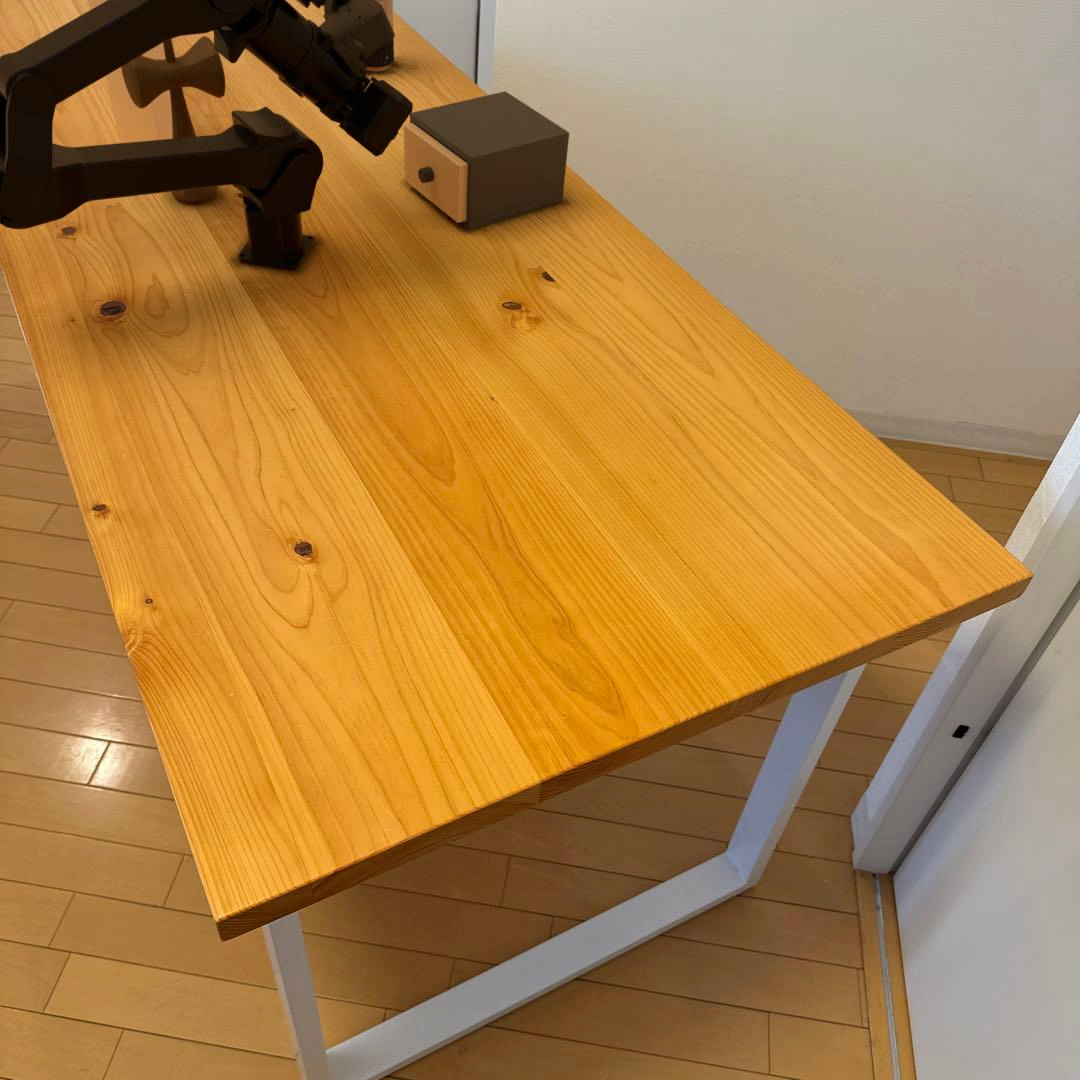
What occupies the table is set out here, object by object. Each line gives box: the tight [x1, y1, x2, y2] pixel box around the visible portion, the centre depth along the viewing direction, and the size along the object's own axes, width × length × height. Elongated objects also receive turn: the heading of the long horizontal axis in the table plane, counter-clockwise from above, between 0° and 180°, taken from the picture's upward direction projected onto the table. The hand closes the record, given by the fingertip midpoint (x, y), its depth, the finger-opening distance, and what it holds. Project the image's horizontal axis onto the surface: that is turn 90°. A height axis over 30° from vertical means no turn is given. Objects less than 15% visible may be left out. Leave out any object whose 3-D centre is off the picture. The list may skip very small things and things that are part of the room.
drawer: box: [403, 122, 468, 224], centre depth 117 cm, size 14×11×7 cm
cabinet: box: [409, 91, 570, 231], centre depth 119 cm, size 14×13×9 cm
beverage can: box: [360, 0, 395, 72], centre depth 141 cm, size 6×6×12 cm
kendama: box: [121, 35, 227, 203], centre depth 109 cm, size 6×10×20 cm, turn 124°
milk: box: [87, 0, 178, 143], centre depth 115 cm, size 6×6×22 cm
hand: (394, 135), depth 109 cm, fingers closed
